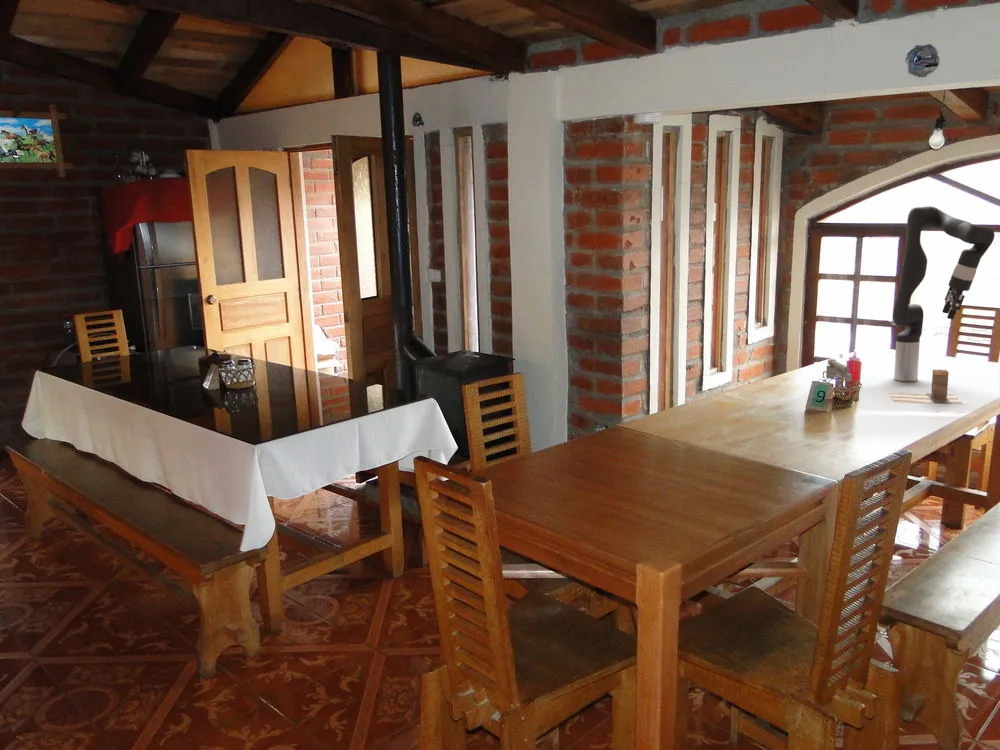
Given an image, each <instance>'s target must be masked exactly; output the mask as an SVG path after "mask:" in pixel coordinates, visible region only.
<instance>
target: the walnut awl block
mask: <svg viewBox="0 0 1000 750" xmlns="http://www.w3.org/2000/svg"><path fill="white" fill-rule="evenodd" d="M931 379H932V380H931V393H930V394H931V397H932V398H933V399H934V400H947V394H948V385H949V384H948V383H949V371H948V370H947V369H932V377H931Z"/></svg>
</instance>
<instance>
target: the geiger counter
mask: <svg viewBox="0 0 1000 750" xmlns="http://www.w3.org/2000/svg"><path fill="white" fill-rule="evenodd" d="M827 364H828V365H826V370H824V371H823V372H822V378H824V379H826V378H834V377H836V374H841V375H843V377H844V378H845V379H846V381H848V382H850V381H852V380H853V379H852V378H853V375H852V373H849V372H850V367H848V366H846V365H845V364H842V363H841V362H838V361H837V360H836V359H834V358H829V359H828V360H827ZM825 375H826V376H825ZM841 375H840V376H841Z"/></svg>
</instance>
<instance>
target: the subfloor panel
mask: <svg viewBox="0 0 1000 750" xmlns="http://www.w3.org/2000/svg"><path fill="white" fill-rule="evenodd" d="M888 395H889V397H890V399H891V400H892V401H893V403H894V404H896V403H897V404H899V403H900V404H937V405H939V404H941V405H942V404H944V405H950V404H951V405H964V403H963V402H962V400H960V399H959V398H958V397H957V396H956V395H955V394H954V393H947V400H934V399H933V398H932V397H931V393H914V392H913V393H910V392H909V393H907V392H906V393H905V392H903V393H902V392H888Z"/></svg>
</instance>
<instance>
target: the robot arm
mask: <svg viewBox="0 0 1000 750" xmlns="http://www.w3.org/2000/svg"><path fill="white" fill-rule="evenodd" d="M906 222H907V223H906V239H905V241H906V242H905V246H904V247H905V249H904V256H903V259H902V260H903V261H902V267H901V273H900V282H899V287H898V291H897V295H896V296H897V297H896V300H895V303H894V308H893V313H892V320H893V323H894V324H895V325H896V326H898V327H905V326H906V328H905V329H904V330H902V331H901V332H899V333H897V334H896V337H895V338H896V339H895V355H894V356H895V357H894V358H895V359H894V376H893V378H894V380H896V381H899V382H915V381H918V376H919V375H918V373H919V359H920V343H921V342H920V340H921V336H922V333H923V324H924V309H923V307H922V306H921V304H917V303H910V301H911V297H913V294H914V292H915V291H916V289H917V288H918V287H919V286H920V284H921V283H922V282H923V280H924V278H925V277H926V273H927V267H928V258H927V255H926V252H925V250H924V248H923V246H922V243H921V234H922V230H930V229H940V230H943V232H944V233H945V234H947V235H948V236H950V237H953V238H955V239H958V240H961V241H962V242H963V243H967V244H969V245H973V246H972V247H970V248H965V249H963V250H962V252H961V253H960V255H959V258H958V261H957V263H956V264H955V267H954V269H953V272H952V274H951V277H950V279H949V282H948V290H947V293H946V295H945V298H944V306H943V309H942V313H943V314H947V316H946V318H947V319H950V320H954V319H955V316H956V314H957V312H958V311H960V309H961V307H962V304H963V302H964V299H965V295H964V294H963V293H964V292H968V291H970V289H971V286H972V284H973V282H974V279H975V276H976V274H977V269H978V268H979V264H980V261H981V259H982V257H983V256H984V255H985V253H986V252H987V250H989V248H990V247H991V245H992V244H993V242H994V239H995V231H994V229H993V228H992V227H989V226H982V225H977V224H973V223H971V222H969V221H968V220H967V221H966V220H963V219H961V218H956V217H954V216H951V215H950V214H947V213H945V212H944V211H943V210H941V209H939V208H937V207H934V206H929V205H927V206H915V207H913V208H911V209H910V211H909V212H908V215H907V221H906Z"/></svg>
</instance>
